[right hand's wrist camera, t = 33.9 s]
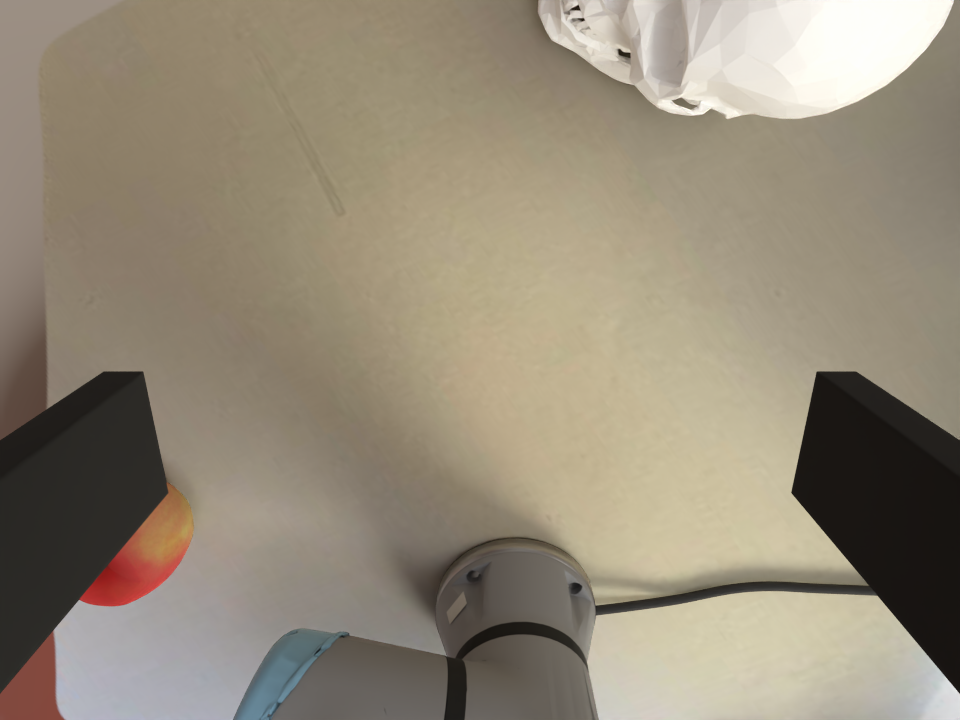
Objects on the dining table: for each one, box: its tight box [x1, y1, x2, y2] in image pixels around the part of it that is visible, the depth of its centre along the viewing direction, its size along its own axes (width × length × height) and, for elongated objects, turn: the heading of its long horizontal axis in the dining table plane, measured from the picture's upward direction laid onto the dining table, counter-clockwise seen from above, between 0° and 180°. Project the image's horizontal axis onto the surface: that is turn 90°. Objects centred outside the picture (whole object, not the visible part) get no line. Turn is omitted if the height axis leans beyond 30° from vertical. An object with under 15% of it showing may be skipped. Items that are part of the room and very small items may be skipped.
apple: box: [79, 482, 194, 606], centre depth 52 cm, size 10×10×10 cm
